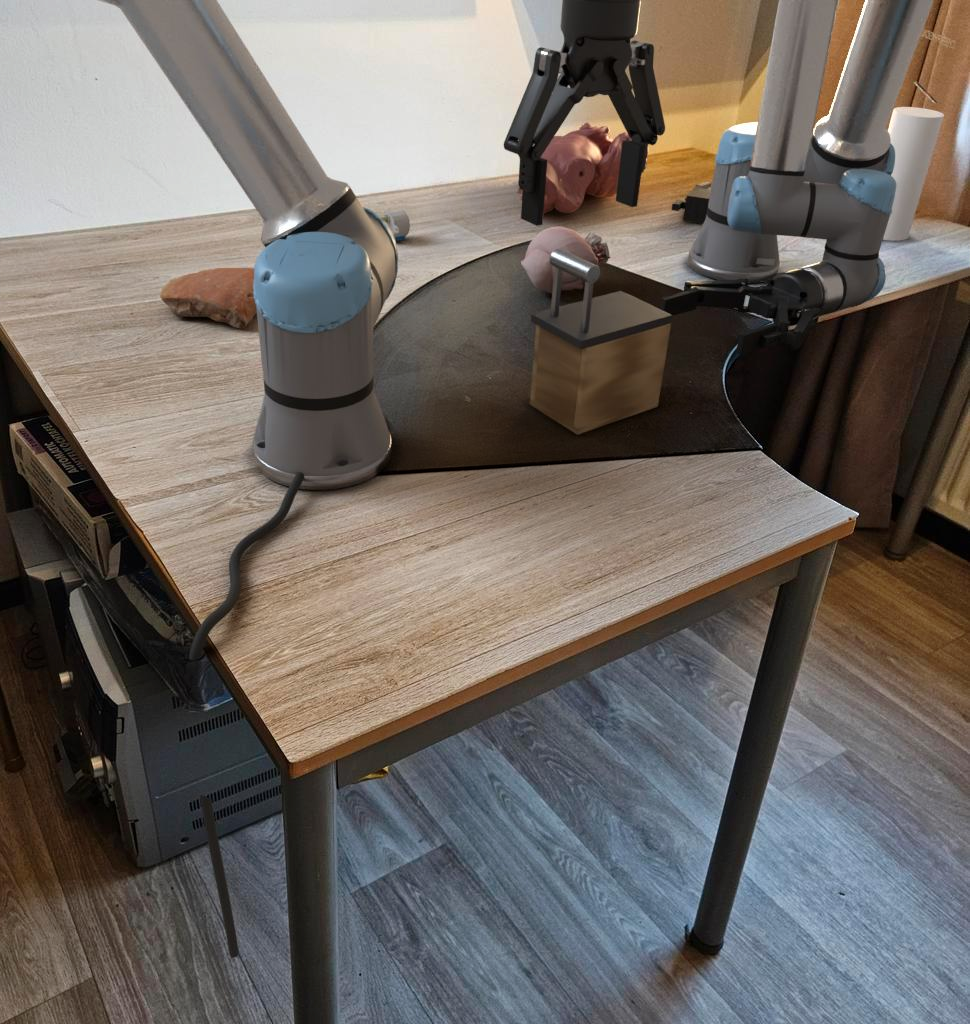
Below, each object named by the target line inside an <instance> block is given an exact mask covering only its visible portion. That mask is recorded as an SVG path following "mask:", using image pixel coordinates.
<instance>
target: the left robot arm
mask: <svg viewBox="0 0 970 1024" xmlns="http://www.w3.org/2000/svg"><path fill="white" fill-rule="evenodd" d="M97 1H99V2H102V3H105V4H109V5H112V6H115V7H117V8H118V9H120V10H121V12H122V13H123V15H124V17H125V19H127V21H128V23H129V24H130V25H131V27H132V28H133V30H134V31H135V33H136V34H137V36H138V37H139V38H140V40H141V41H142V43H143V45H144V46H145V48H146V49H147V51H149V54H150V55H151V56H152V58H153V59H154V61H155V62H156V64H157V65H158V67H159V68H160V70H161V71H162V73H163V75H164V76H165V77H166V78H167V80H168V81H169V83H170V85H171V86H172V88H173V90H175V92H176V93H177V95H178V96H179V98H180V100H182V102H183V104H184V105H185V107H186V108H187V109H188V111H189V112H190V114H191V115H192V117H193V118H194V120H195V121H196V123H197V124H198V126H199V127H200V129H201V130H202V132H203V133H204V135H205V136H206V137H207V139H208V141H209V142H210V143H211V145H212V146H213V148H214V149H215V151H216V152H217V154H218V155H219V157H220V159H221V160H222V161H223V163H224V164H225V166H226V167H227V169H228V170H229V172H230V173H231V175H232V176H233V177H234V179H235V180H236V182H237V183H238V185H239V186H240V188H241V189H242V191H243V192H244V194H245V195H246V196H247V199H249V201H250V202H251V204H252V205H253V207H254V209H255V210H256V211H257V213H258V214H259V216H260V218H261V220H262V228H261V229H262V230H261V236H260V242H261V244H262V245H263V246H264V248H263V249H262V250H261V251H260V252H259V254H258V256H257V257H256V260H255V263H254V267H253V268H254V283H253V290H254V293H253V296H254V299H255V303H256V309H257V313H256V318H257V326H258V327H257V328H258V329H257V330H258V337H259V339H258V340H259V349H260V359H261V369H262V379H263V388H264V390H263V391H264V396H263V400H262V404H261V408H260V412H259V415H258V419H257V423H256V427H255V430H254V434H253V439H252V455H253V460H254V464H255V467H256V468H257V470H258V471H259V472H260V473H261V474H262V475H263V476H265V477H266V478H268V479H269V480H271V481H273V482H275V483H278V484H280V485H283V486H286V487H288V488H287V491H286V492H285V495H284V496H283V499H282V502H281V504H280V506H279V508H278V510H277V512H276V513H275V514H274V515H273V517H271V518H270V519H269V520H268V521H267V522H265V523H264V524H262V525H261V526H259V527H258V528H255V530H253V531H252V532H250V533H249V534H247V535H246V536H244V538H242V539H241V540H240V541H239V542H238V544H237V545H236V546H235V548H234V549H233V551H232V552H231V555H230V558H229V562H228V571H229V572H228V573H229V581H230V582H229V590H228V594H227V597H226V598H225V600H224V601H223V602H222V603H221V604H220V605H219V606H218V607H217V608H216V609H214V610H213V611H212V612H211V613H210V614H209V615H208V616H207V617H206V618H205V619H204V620H203V621H202V622H201V624H200V625H199V627H198V629H197V631H196V633H195V635H194V638H193V640H192V643H191V647H190V650H189V656H188V659H189V660H190V661H196V660H199V659H200V658H201V657H202V654H203V650H204V646H205V643H206V640H207V638H208V636H209V634H210V632H211V631H212V630H213V629H214V627H215V626H216V625H217V624H218V623H220V621H222V620H223V619H224V618H225V617H226V616H227V615H228V614H229V613H231V611H232V610H233V609H234V607H235V606H236V604H237V603H238V600H239V598H240V595H241V590H242V576H241V567H240V566H241V560H242V558H243V555H244V554H245V552H246V551H247V550H248V549H249V548H250V547H252V546H253V544H255V543H257V542H258V541H259V540H261V539H263V538H264V537H266V536H267V535H269V534H270V533H272V532H273V531H274V530H275V529H277V527H279V525H281V524H282V523H283V521H284V520H285V519H286V517H287V515H288V513H289V512H290V509H291V507H292V505H293V503H294V500H295V497H296V495H297V493H298V491H299V489H301V490H312V491H314V490H315V491H323V490H327V491H328V490H337V489H342V488H348V487H351V486H355V485H358V484H361V483H363V482H366V481H368V480H370V479H373V478H374V477H375V476H377V475H378V474H380V473H381V472H382V471H383V470H384V469H385V468H386V467H387V466H388V464H389V463H390V461H391V458H392V436H394V425H393V424H392V422H391V421H390V420H389V419H388V417H387V416H386V415H385V413H384V412H383V411H382V408H381V406H380V403H379V400H378V398H377V395H376V393H375V385H374V341H373V340H374V328H375V326H376V324H377V321H378V318H379V316H380V314H381V312H382V310H383V307H384V305H385V303H386V301H387V300H388V299H389V297H390V295H391V294H392V292H393V290H394V288H395V284H396V280H397V276H398V272H399V271H398V270H399V250H398V246H397V241H395V239H394V236H393V234H392V232H391V230H390V229H389V227H388V226H387V224H386V223H385V222H384V221H383V220H382V218H380V217H381V216H380V215H378V214H377V213H376V212H375V211H373V210H371V209H370V208H367V207H365V206H362V204H361V202H360V200H359V199H358V197H357V196H356V194H355V193H354V191H353V189H352V188H351V186H350V185H349V183H347V182H344V181H341V180H337V179H333V178H331V177H329V176H328V175H327V174H326V172H325V170H324V169H323V167H322V166H321V164H320V163H319V161H318V159H317V157H316V156H315V154H314V153H313V151H312V150H311V148H310V146H309V145H308V143H307V142H306V140H305V139H304V137H303V135H302V133H301V132H300V131H299V129H298V128H297V126H296V124H295V123H294V121H293V119H292V117H291V116H290V114H289V113H288V111H287V109H286V108H285V107H284V105H283V103H282V102H281V100H280V98H279V97H278V96H277V94H276V92H275V91H274V89H273V87H272V86H271V84H270V83H269V81H268V80H267V78H266V76H265V75H264V73H263V71H262V70H261V67H260V66H259V65H258V64H257V62H256V61H255V58H254V57H253V55H252V54H251V52H250V51H249V49H248V48H247V46H246V45H245V43H244V41H243V39H242V38H241V37H240V35H239V33H238V31H237V30H236V29H235V26H234V25H233V23H232V21H230V19H229V17H228V16H227V14H226V12H225V11H224V9H223V8H222V6H221V5H220V3H219V2H218V0H97ZM561 1H562V3H561V12H560V13H561V14H560V17H561V18H560V31H561V32H562V35H563V43H562V47H561V49H560V50H554V49H550V48H545V47H541V46H540V47H538V48H537V49H536V50H535V55H534V62H533V69H532V73H531V76H530V78H529V79H528V80H529V81H528V82H527V86H526V88H525V89H524V90H525V91H524V93H523V95H522V98H521V100H520V103H519V105H518V107H517V110H516V112H515V115H514V117H513V119H512V122H511V124H510V127H509V129H508V132H507V134H506V136H505V139H504V141H503V148H504V150H505V151H507V152H510V153H513V154H515V155H517V156H518V158H519V168H518V183H517V184H518V189H521V190H523V191H522V194H521V195H522V201H521V206H520V207H521V209H520V219H521V220H523V221H524V222H527V223H530V224H532V225H534V226H537V227H539V226H543V225H544V223H543V222H544V213H543V211H544V198H545V185H546V173H547V160H546V159H543V158H540V157H541V156H542V154H543V153H544V151H545V150H546V148H547V147H548V145H549V144H550V142H551V140H552V139H553V137H554V136H556V134H557V133H558V131H559V129H560V128H561V127H562V125H563V124H564V122H565V120H566V119H567V117H568V116H569V114H570V113H571V111H572V110H573V108H574V107H575V105H576V104H579V103H580V102H582V100H583V99H584V98H593V97H595V96H598V95H602V96H608V97H609V100H610V101H611V104H612V105H613V108H614V109H615V111H616V113H617V115H618V117H619V119H620V121H621V123H622V125H623V127H624V129H625V132H627V133H628V135H629V137H630V138H631V139H632V141H630V140H623V142H622V151H621V159H620V167H619V176H618V184H617V193H616V194H615V202H616V203H617V202H618V203H620V204H623V205H625V206H628V207H630V208H634V207H638V201H639V195H640V186H641V179H642V175H641V173H642V174H643V173H645V170H646V169H645V165H646V166H647V164H646V160H647V159H646V157H647V150H648V151H649V145H650V146H655V145H656V144H657V142H658V140H659V139H658V136H660V137H661V136H663V135H664V134H665V132H666V124H665V119H664V114H663V110H662V109H663V108H662V105H661V99H660V95H659V90H658V85H657V80H656V75H655V70H654V59H655V57H654V55H655V47H654V44H652V43H648V42H644V41H639V40H632V41H631V39H633V38H635V37H636V36H637V33H638V30H639V29H638V28H639V20H640V11H641V3H642V0H561ZM627 68H628V72H629V73H628V74H629V76H628V74H627V72H626V70H627ZM391 435H392V436H391ZM199 801H200V806H201V807H200V808H201V812H202V818H203V824H204V829H205V834H206V839H207V846H208V851H209V855H210V860H211V865H212V870H213V875H214V879H215V884H216V889H217V894H218V898H219V904H220V909H221V910H220V911H221V915H222V919H223V925H224V931H225V936H226V942H227V948H228V953H229V957H230V958H233V959H235V958H237V957H238V956H239V955H240V950H239V945H238V938H237V937H238V936H237V932H236V926H235V920H234V915H233V910H232V904H231V898H230V893H229V887H228V884H227V883H228V882H227V877H226V872H225V866H224V862H223V857H222V851H221V846H220V840H219V835H218V830H217V824H216V818H215V813H214V806H213V800H212V798H210V797H209V796H206V795H203V794H199Z"/></svg>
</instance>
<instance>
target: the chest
mask: <svg viewBox="0 0 970 1024" xmlns="http://www.w3.org/2000/svg"><path fill="white" fill-rule="evenodd" d="M671 329H672V322H671V323H670V324H666V325H663V326H659V327H656V328H652V329H649V330H645V331H642V332H639V333H635V334H632V335H628V336H625V337H621V338H618V339H614V340H611V341H608V342H604V343H601V344H597V345H594V346H590V347H587V348H583V349H580V348H578V347H576V346H574V345H572V344H570V343H569V342H567V341H565V340H563V339H561V338H560V337H558V336H556V335H554V334H552V333H550V332H549V331H547V330H545V329H543V328H541V327H540V326H538V325H536V324H535V334H534V347H533V359H532V373H531V385H530V396H529V397H530V398H529V405H530V406H531V407H533V408H534V409H536V410H538V411H539V412H540V413H542V414H543V415H545V416H546V417H549V418H550V419H552V420H554V422H556V423H558V424H559V425H561V426H563V427H564V428H566V429H567V430H569V431H571V432H572V433H574V434H575V435H577V436H578V435H581V434H583V433H586V432H589V431H592V430H595V429H598V428H600V427H603V426H607V425H609V424H612V423H615V422H617V421H620V420H625V419H626V418H630V417H632V416H635V415H638V414H640V413H643V412H646V411H649V410H652V409H655V408H657V407H659V405H660V394H661V389H662V384H663V383H662V382H663V377H664V370H665V365H666V360H667V359H666V358H667V353H668V346H669V340H670V334H671V333H670V332H671Z"/></svg>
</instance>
